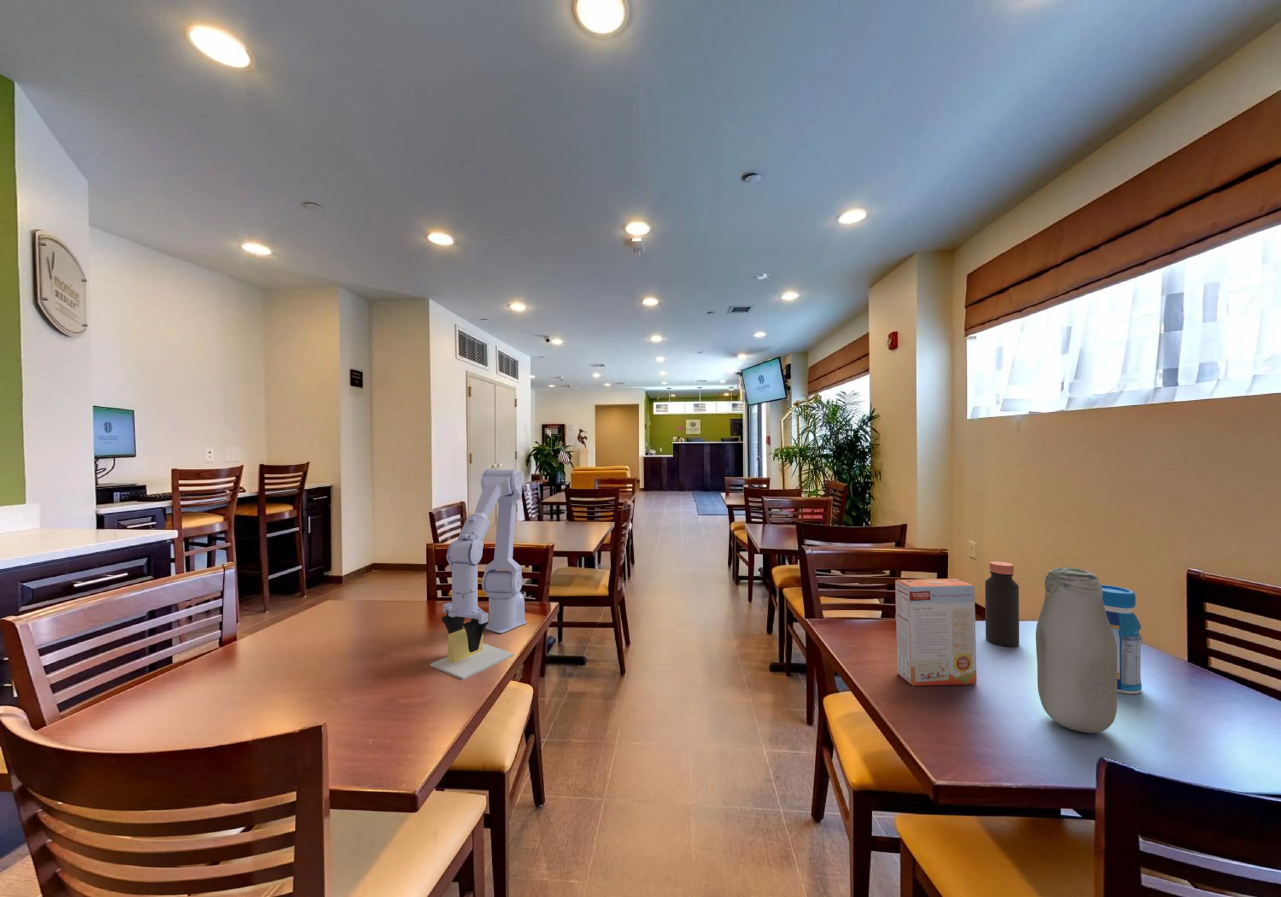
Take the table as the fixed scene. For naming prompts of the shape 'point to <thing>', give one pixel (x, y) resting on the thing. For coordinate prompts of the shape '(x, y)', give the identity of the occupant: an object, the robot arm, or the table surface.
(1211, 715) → the table surface
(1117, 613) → the beverage bottle
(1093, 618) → the grey jar
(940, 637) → the cracker box
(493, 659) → the mat
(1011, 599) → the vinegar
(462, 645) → the block
